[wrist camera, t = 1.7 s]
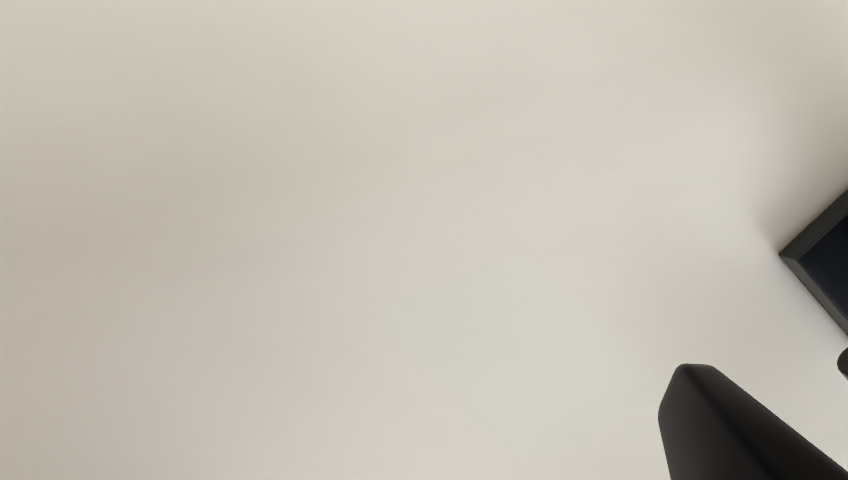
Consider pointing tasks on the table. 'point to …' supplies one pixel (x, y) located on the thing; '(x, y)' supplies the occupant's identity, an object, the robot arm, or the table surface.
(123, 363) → the table surface
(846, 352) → the lever
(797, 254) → the black stand
